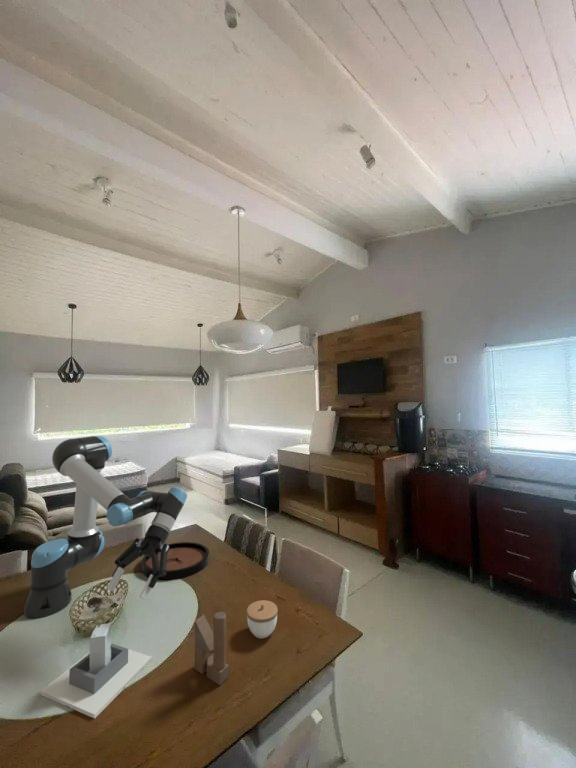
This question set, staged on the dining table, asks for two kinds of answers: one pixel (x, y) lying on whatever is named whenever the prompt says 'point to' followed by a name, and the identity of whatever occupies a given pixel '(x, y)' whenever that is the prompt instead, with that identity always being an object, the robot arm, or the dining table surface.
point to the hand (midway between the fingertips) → (125, 594)
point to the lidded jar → (262, 618)
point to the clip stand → (96, 681)
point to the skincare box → (100, 648)
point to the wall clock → (180, 561)
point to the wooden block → (211, 648)
